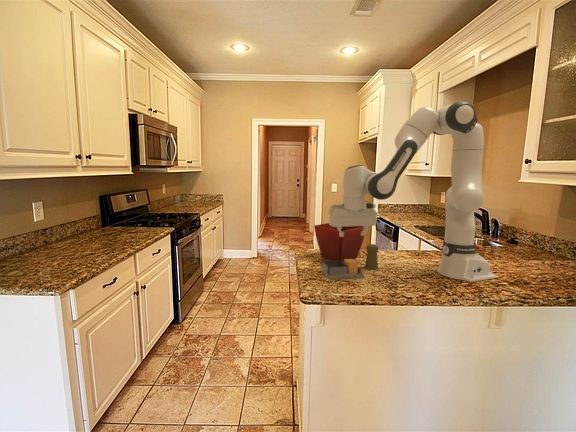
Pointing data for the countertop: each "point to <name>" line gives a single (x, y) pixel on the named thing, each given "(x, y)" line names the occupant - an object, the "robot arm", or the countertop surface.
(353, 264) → the bracket block
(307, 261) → the countertop surface
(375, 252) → the cork
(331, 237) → the plant pot
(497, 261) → the countertop surface
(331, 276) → the grey tray with frame
